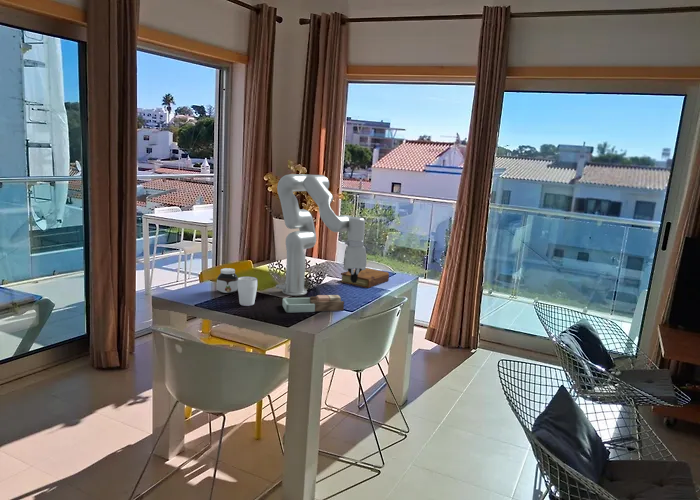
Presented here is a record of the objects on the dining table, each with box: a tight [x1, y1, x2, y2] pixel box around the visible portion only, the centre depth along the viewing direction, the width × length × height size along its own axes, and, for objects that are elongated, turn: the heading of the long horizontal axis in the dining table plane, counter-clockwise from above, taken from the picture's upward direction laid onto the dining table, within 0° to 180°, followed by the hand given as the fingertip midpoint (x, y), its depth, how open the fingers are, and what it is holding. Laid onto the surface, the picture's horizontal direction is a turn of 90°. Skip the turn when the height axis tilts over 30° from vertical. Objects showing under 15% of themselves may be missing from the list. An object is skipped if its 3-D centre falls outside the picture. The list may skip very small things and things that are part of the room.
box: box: [281, 297, 316, 313], centre depth 247 cm, size 13×11×4 cm
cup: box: [237, 276, 258, 307], centre depth 248 cm, size 9×9×12 cm
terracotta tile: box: [316, 294, 330, 302], centre depth 250 cm, size 5×5×2 cm
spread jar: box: [216, 267, 239, 295], centre depth 266 cm, size 12×11×12 cm
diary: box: [340, 267, 390, 289], centre depth 307 cm, size 23×19×6 cm
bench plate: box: [309, 296, 345, 312], centre depth 251 cm, size 14×9×4 cm, turn 107°
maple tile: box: [327, 294, 342, 301], centre depth 252 cm, size 5×5×2 cm
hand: (353, 282), depth 252 cm, fingers closed
